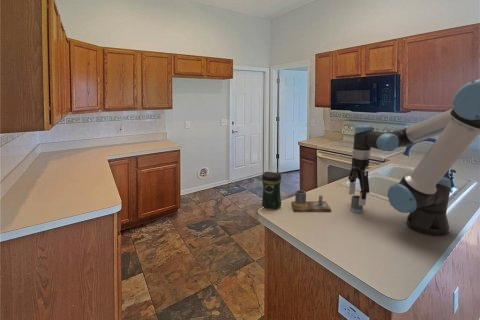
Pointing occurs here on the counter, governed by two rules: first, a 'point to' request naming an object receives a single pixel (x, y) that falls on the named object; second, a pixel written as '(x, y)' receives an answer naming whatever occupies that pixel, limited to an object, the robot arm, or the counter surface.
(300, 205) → the sleeve ochre
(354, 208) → the grey octagonal sleeve
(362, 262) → the counter surface
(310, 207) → the pin board
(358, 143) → the robot arm
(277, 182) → the coffee jar
